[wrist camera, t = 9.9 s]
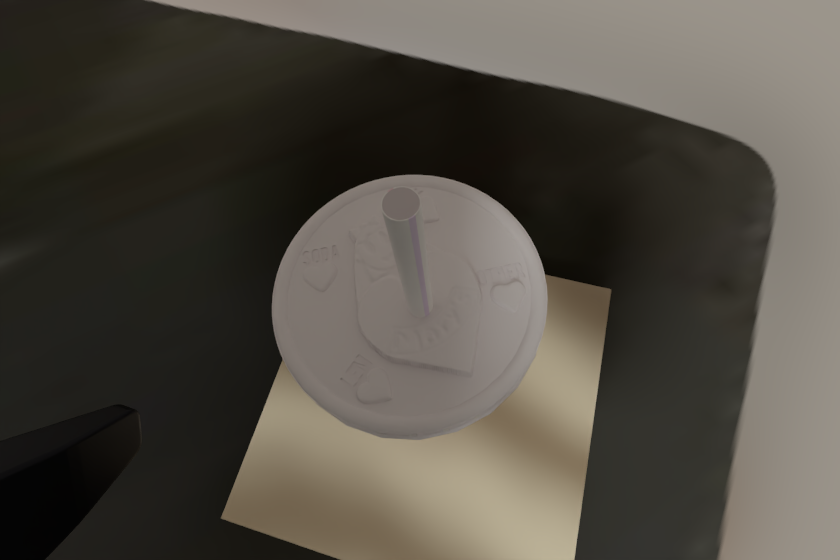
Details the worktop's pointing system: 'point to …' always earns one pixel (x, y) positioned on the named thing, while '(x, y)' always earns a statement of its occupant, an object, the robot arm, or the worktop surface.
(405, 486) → the cutting board
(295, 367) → the smoothie
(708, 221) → the worktop surface
